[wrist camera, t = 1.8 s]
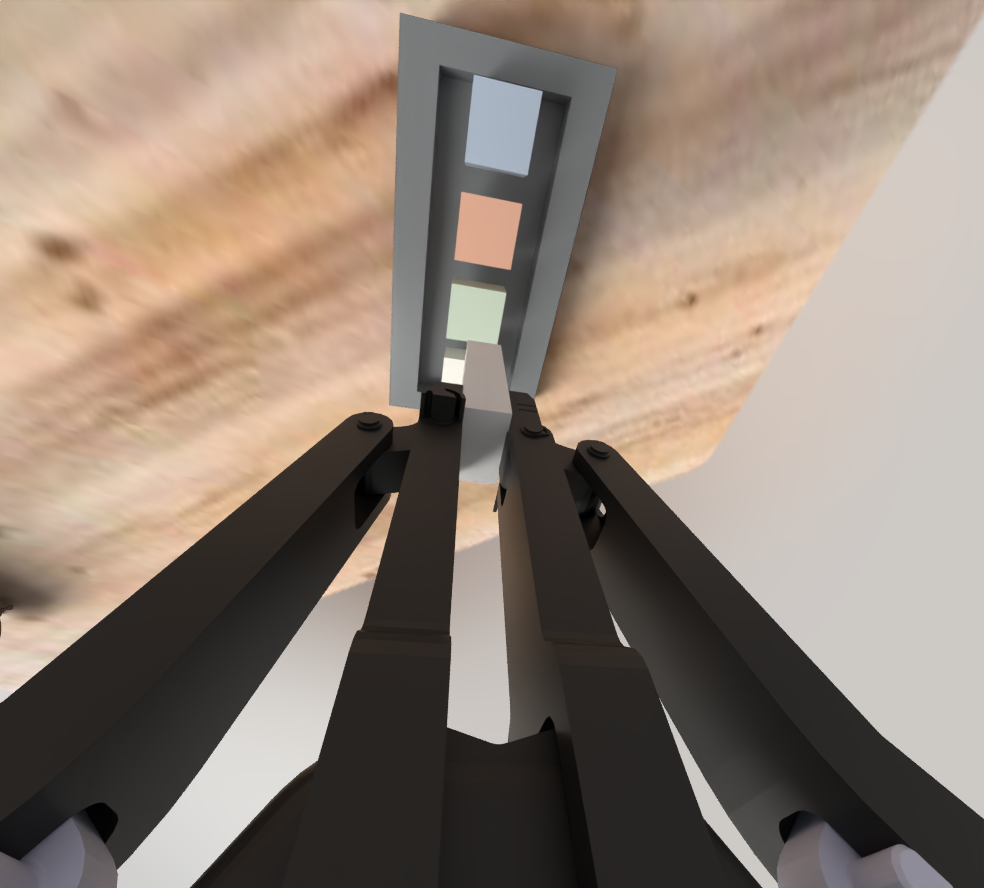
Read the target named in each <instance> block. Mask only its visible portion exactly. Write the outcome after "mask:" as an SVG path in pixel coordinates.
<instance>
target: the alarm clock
mask: <svg viewBox="0 0 984 888" xmlns="http://www.w3.org/2000/svg"><path fill="white" fill-rule="evenodd" d="M12 608H13V606H12V605H8V606H6V607H5V608H0V616H1V615H2V613H1V612H3V611H6V610H11V609H12ZM0 636H1V621H0Z"/></svg>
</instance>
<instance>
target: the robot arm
mask: <svg viewBox="0 0 984 888" xmlns="http://www.w3.org/2000/svg"><path fill="white" fill-rule="evenodd" d="M498 476H499V477H500V483H499V487H498V492H497V496H496V500H495V505H494V509H493V512H496V511H497V508H498V519H499V535H500V550H501V567H502V583H503V599H504V613H505V614H504V615H505V630H506V647H507V663H508V678H509V695H510V728H509V736H508V743H505V744H493V743H489V742H487V741H483V740H481V739H478V738H475V737H472V736H470V735H467V734H464V733H461V732H459V731H456V730H453V729H450V728H447V714H448V697H449V679H450V661H451V636H450V614H451V597H452V583H453V567H454V551H455V535H456V520H457V504H458V488H459V480H460V481H469V482H477V483H486V484H495V485H497V480H498ZM396 492H399V494H398V498H397V502H396V506H395V509H394V513H393V517H392V520H391V524H390V528H389V532H388V535H387V539H386V543H385V546H384V550H383V554H382V558H381V561H380V565H379V569H378V572H377V576H376V580H375V584H374V588H373V591H372V595H371V598H370V602H369V606H368V610H367V613H366V617H365V620H364V624H363V627H362V628H361V630H358V631H357V632H356V634H355V636H354V638H353V641H352V644H351V647H350V650H349V653H348V657H347V661H346V664H345V667H344V671H343V675H342V678H341V681H340V685H339V689H338V692H337V695H336V699H335V702H334V706H333V709H332V713H331V717H330V720H329V723H328V727H327V731H326V734H325V738H324V741H323V745H322V748H321V752H320V755H319V759H318V761H316V762H315V763H314V764H312V765H311V766H309V767H308V768H307V769H305V770H304V771H302V772H301V773H300V774H299V775H297V776H296V777H295V778H294V779H293V780H292V781H291V782H290V783H288V784H287V785H286V786H285V787H284V788H283V789H282V790H281V791H280V792H279V793H278V794H277V795H276V796H275V797H274V798H273V799H272V800H271V801H270V802H269V803H268V804H267V805H266V806H265V807H264V809H263V810H262V811H261V812H260V813H259V814H258V815H257V816H256V817H255V818H254V819H253V820H252V821H251V823H250V824H249V825H248V826H247V827H246V828H245V829H244V830H243V831H242V832H241V833H240V834H239V836H238V837H237V838H236V839H235V840H234V841H233V842H232V843H231V844H230V845H229V846H228V847H227V849H226V850H225V851H224V852H223V853H222V854H221V855H220V856H219V857H218V858H217V859H216V860H215V861H214V863H213V864H212V865H211V866H210V867H209V868H208V869H207V870H206V871H205V872H204V873H203V874H202V875H201V877H200V878H199V879H198V880H197V881H196V882H195V883H194V884H193V885H192V886H191V887H190V888H762V887H761V886H760V884H759V883H758V882H757V881H756V880H755V879H754V878H753V876H752V875H751V874H750V873H749V871H748V870H747V869H746V868H745V867H744V866H743V864H742V863H741V862H740V861H739V860H738V858H737V857H736V856H735V855H734V854H733V853H732V851H731V850H730V849H729V848H728V847H727V846H726V844H725V843H724V842H723V841H722V840H721V838H720V837H719V836H718V835H717V834H716V833H715V832H714V830H713V829H712V828H711V827H710V825H709V824H707V822H706V821H705V820H704V818H703V816H702V814H701V811H700V808H699V805H698V803H697V800H696V797H695V795H694V792H693V789H692V786H691V784H690V781H689V778H688V776H687V773H686V770H685V767H684V764H683V762H682V759H681V757H680V754H679V751H678V748H677V745H676V743H675V740H674V737H673V734H672V732H671V729H670V726H669V723H668V721H667V718H666V715H665V713H664V710H663V707H662V704H661V702H662V703H663V705H664V707H665V709H666V711H667V712H668V714H669V716H670V718H671V719H672V721H673V723H674V725H675V726H676V728H677V730H678V732H679V733H680V735H681V737H682V738H683V741H684V742H685V744H686V746H687V748H688V749H689V751H690V753H691V755H692V756H693V758H694V760H695V762H696V763H697V765H698V767H699V768H700V770H701V772H702V774H703V776H704V778H705V779H706V781H707V783H708V784H709V786H710V787H711V789H712V791H713V792H714V794H715V796H716V797H717V799H718V801H719V802H720V804H721V805H722V807H723V809H724V810H725V812H726V814H727V815H728V817H729V818H730V820H731V821H732V822H733V824H734V825H735V827H736V828H737V830H738V831H739V832H740V834H741V835H742V837H743V838H744V840H745V841H746V842H747V844H748V845H749V847H750V848H751V849H752V851H753V852H754V854H755V855H756V856H757V857H758V859H759V860H760V861H761V863H762V864H763V865H764V867H765V868H766V869H767V870H768V872H769V873H770V874H771V875H772V876H773V878H774V879H775V880H776V882H777V883H778V886H779V888H984V819H983V818H982V817H980V816H979V815H978V814H977V813H976V812H974V811H973V810H972V809H971V808H970V807H968V806H967V805H966V804H965V803H964V802H962V801H961V800H960V799H959V798H957V797H956V796H955V795H954V794H953V793H951V792H950V791H949V790H948V789H946V788H945V787H944V786H943V785H941V784H940V783H939V782H938V781H937V780H935V779H934V778H933V777H932V776H931V775H929V774H928V773H927V772H926V771H924V770H923V769H922V768H921V767H919V766H918V765H917V764H916V763H915V762H913V761H912V760H911V759H910V758H908V757H907V756H906V755H905V754H904V753H902V752H901V751H900V750H899V749H897V748H896V747H895V746H894V745H893V744H891V743H890V742H889V741H888V740H886V739H885V738H884V737H883V736H882V735H881V734H880V733H879V732H877V730H876V729H875V728H874V727H873V726H872V725H871V724H870V723H869V722H868V721H867V719H865V717H864V716H863V715H862V714H861V713H860V712H859V711H858V710H857V709H856V708H855V707H854V706H853V704H852V703H851V702H850V701H849V700H848V699H847V698H846V697H845V696H844V695H843V694H842V693H841V692H840V690H839V689H838V688H837V687H836V686H835V685H834V684H833V683H832V682H831V681H830V680H829V679H828V678H827V676H826V675H825V674H824V673H823V672H822V671H821V670H820V669H819V668H818V667H817V666H816V665H815V664H814V663H813V662H812V660H811V659H810V658H809V657H808V656H807V655H806V654H805V653H804V652H803V651H802V650H801V649H800V647H799V646H798V645H797V644H796V643H795V642H794V641H793V640H792V639H791V638H790V637H789V636H788V635H787V634H786V632H785V631H784V630H783V629H782V628H781V627H780V626H779V625H778V624H777V623H776V622H775V621H774V620H773V619H772V618H771V616H770V615H769V614H768V613H767V612H766V611H765V610H764V609H763V608H762V607H761V606H760V605H759V603H758V602H757V601H756V600H755V599H754V598H753V597H752V596H751V595H750V594H749V593H748V592H747V591H746V590H745V588H743V586H742V585H741V584H740V583H739V582H738V581H737V580H736V579H735V578H734V577H733V576H732V574H731V573H730V572H729V571H728V570H727V569H726V568H725V567H724V566H723V565H722V564H721V563H720V562H719V561H718V559H716V557H715V556H714V555H713V554H712V553H711V552H710V551H709V550H708V549H707V548H706V547H705V546H704V544H702V542H701V541H700V540H699V539H698V538H697V537H696V536H695V535H694V534H693V533H692V532H691V530H689V528H688V527H687V526H686V525H685V524H684V523H683V522H682V521H681V520H680V519H679V518H678V517H677V515H676V514H675V513H674V512H673V511H672V510H671V509H670V508H669V507H668V506H667V505H666V504H665V503H664V501H663V500H662V499H661V498H660V497H659V496H658V495H657V494H656V493H655V492H654V491H653V490H652V489H651V488H650V486H649V485H648V484H647V483H646V482H645V481H644V480H643V479H642V478H641V477H640V476H639V475H638V474H637V472H636V471H635V470H634V469H633V468H632V467H631V466H630V465H629V464H628V463H627V462H626V461H625V460H624V459H623V457H622V456H621V455H620V454H619V453H618V452H617V451H616V450H615V449H613V448H612V447H611V446H609V445H607V444H605V443H603V442H601V441H600V442H599V441H596V440H584V441H581V442H579V443H578V445H577V448H576V450H574V449H571V448H567V447H564V446H562V445H559V444H557V443H555V440H554V437H553V434H552V433H551V431H550V430H549V429H547V428H546V427H545V426H542V425H541V421H540V418H539V414H538V411H537V407H536V404H535V401H534V399H533V398H532V397H531V396H530V395H529V394H528V393H523V392H516V391H509V390H508V385H507V379H506V373H505V367H504V361H503V355H502V349H501V345H497V344H491V343H485V342H478V341H472V340H468V341H467V348H466V355H465V363H464V370H463V377H462V385H460V384H453V383H446V382H439V381H437V382H435V383H434V384H433V385H431V386H430V387H428V388H426V389H424V390H423V391H422V392H421V401H420V414H419V420H418V422H417V423H415V424H413V425H409V426H403V427H393V422H392V420H391V419H390V418H388V417H387V416H384V415H382V414H378V413H374V412H368V413H367V412H363V413H359V414H355V415H352V416H350V417H349V418H347V419H346V420H345V421H343V422H342V423H341V424H340V425H339V426H337V427H336V428H335V429H334V430H332V431H331V432H330V433H329V434H328V435H326V436H325V437H324V438H323V439H321V440H320V441H319V442H318V443H317V444H315V445H314V446H313V447H312V448H311V449H309V450H308V451H307V452H306V453H304V454H303V455H302V456H301V457H300V458H298V459H297V460H296V461H295V462H294V463H292V464H291V465H290V466H289V467H287V468H286V469H285V470H284V471H283V472H281V473H280V474H279V475H278V476H276V477H275V478H274V479H273V480H272V481H270V482H269V483H268V484H267V485H266V486H264V487H263V488H262V489H261V490H259V491H258V492H257V493H256V494H255V495H253V496H252V497H251V498H250V499H249V500H247V501H246V502H245V503H244V504H242V505H241V506H240V507H239V508H238V509H236V510H235V511H234V512H233V513H232V514H230V515H229V516H228V517H227V518H225V519H224V520H223V521H222V522H221V523H219V524H218V525H217V526H216V527H214V528H213V529H212V530H211V531H210V532H208V533H207V534H206V535H205V536H204V537H202V538H201V539H200V540H199V541H197V542H196V543H195V544H194V545H193V546H191V547H190V548H189V549H188V550H187V551H185V552H184V553H183V554H182V555H180V556H179V557H178V558H177V559H176V560H174V561H173V562H172V563H171V564H170V565H168V566H167V567H166V568H165V569H163V570H162V571H161V572H160V573H159V574H157V575H156V576H155V577H154V578H152V579H151V580H150V581H149V582H148V583H146V584H145V585H144V586H143V587H142V588H140V589H139V590H138V591H137V592H135V593H134V594H133V595H132V596H131V597H129V598H128V599H127V600H126V601H125V602H123V603H122V604H121V605H120V606H118V607H117V608H116V609H115V610H114V611H112V612H111V613H110V614H109V615H108V616H106V617H105V618H104V619H103V620H101V621H100V622H99V623H98V624H97V625H95V626H94V627H93V628H92V629H90V630H89V631H88V632H87V633H86V634H84V635H83V636H82V637H81V638H80V639H78V640H77V641H76V642H75V643H73V644H72V645H71V646H70V647H69V648H67V649H66V650H65V651H64V652H63V653H61V654H60V655H59V656H58V657H56V658H55V659H54V660H53V661H52V662H50V663H49V664H48V665H47V666H45V667H44V668H43V669H42V670H41V671H39V672H38V673H37V674H36V675H35V676H33V677H32V678H31V679H30V680H28V681H27V682H26V683H25V684H24V685H22V686H21V687H20V688H19V689H18V690H16V691H15V692H14V693H13V694H11V695H10V696H9V697H8V698H7V699H5V700H4V701H3V702H1V703H0V888H117V877H118V873H117V869H118V868H119V867H120V866H121V865H122V864H123V863H124V862H125V861H126V860H127V859H128V858H129V857H130V856H131V855H132V854H133V852H134V851H135V850H136V849H137V848H138V847H139V845H140V844H141V843H142V842H143V841H144V840H145V839H146V837H147V836H148V835H149V834H150V833H151V832H152V830H153V829H154V828H155V827H156V826H157V825H158V824H159V822H160V821H161V820H162V819H163V818H164V817H165V815H166V814H167V813H168V812H169V811H170V809H171V808H172V807H173V806H174V804H175V803H176V802H177V800H178V799H179V797H180V796H181V795H182V793H183V792H184V791H185V789H186V788H187V787H188V786H189V784H190V783H191V782H192V780H193V779H194V778H195V776H196V775H197V774H198V772H199V771H200V770H201V768H202V767H203V765H204V764H205V763H206V761H207V760H208V758H209V757H210V755H211V754H212V753H213V751H214V750H215V748H216V747H217V745H218V744H219V742H220V741H221V740H222V738H223V737H224V735H225V734H226V733H227V731H228V730H229V728H230V727H231V725H232V724H233V723H234V721H235V720H236V718H237V717H238V715H239V714H240V713H241V711H242V709H243V708H244V707H245V705H246V704H247V703H248V701H249V700H250V698H251V697H252V695H253V694H254V693H255V691H256V690H257V688H258V687H259V685H260V684H261V683H262V681H263V680H264V678H265V677H266V675H267V674H268V673H269V671H270V670H271V668H272V667H273V665H274V664H275V663H276V661H277V660H278V658H279V657H280V655H281V654H282V652H283V651H284V650H285V648H286V647H287V645H288V644H289V642H290V641H291V639H292V638H293V637H294V635H295V634H296V633H297V631H298V630H299V628H300V627H301V625H302V624H303V622H304V621H305V620H306V618H307V617H308V615H309V614H310V613H311V611H312V610H313V608H314V607H315V605H316V604H317V603H318V601H319V600H320V598H321V597H322V595H323V594H324V593H325V591H326V590H327V588H328V587H329V585H330V584H331V583H332V581H333V580H334V578H335V577H336V575H337V574H338V573H339V571H340V570H341V568H342V567H343V565H344V564H345V563H346V561H347V560H348V558H349V557H350V555H351V554H352V553H353V551H354V550H355V548H356V547H357V545H358V544H359V543H360V541H361V540H362V538H363V537H364V535H365V534H366V533H367V531H368V530H369V528H370V527H371V525H372V524H373V523H374V521H375V520H376V518H377V517H378V515H379V514H380V513H381V511H382V510H383V508H384V507H385V505H386V504H387V503H388V501H389V499H390V496H391V493H396ZM601 503H603V505H604V506H605V509H606V513H605V515H603V514H602V512H601V511H600V510H599V508H600V506H601ZM609 610H610V611H609ZM610 612H611V613H612V615H613V617H614V619H615V621H616V623H617V624H618V626H619V628H620V630H621V631H622V633H623V635H624V637H625V638H626V640H627V642H628V644H629V645H630V647H631V648H630V647H624V646H623V644H622V643H621V642H620V640H619V638H618V636H617V633H616V630H615V626H614V623H613V620H612V617H611V614H610ZM659 698H660V699H659ZM660 700H661V702H660Z"/></svg>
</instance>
